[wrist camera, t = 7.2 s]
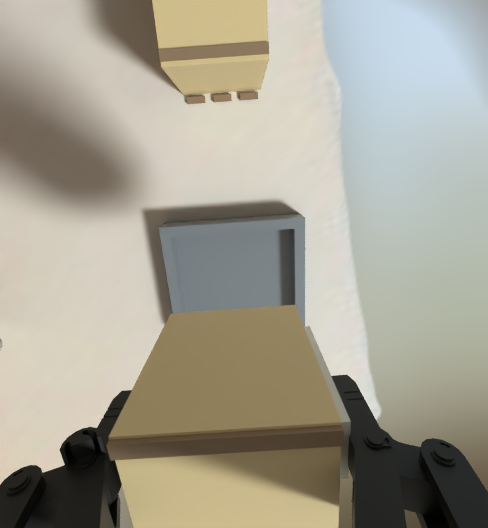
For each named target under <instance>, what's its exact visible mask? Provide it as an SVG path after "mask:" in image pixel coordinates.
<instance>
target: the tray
mask: <svg viewBox="0 0 488 528" xmlns="http://www.w3.org/2000/svg"><path fill="white" fill-rule="evenodd" d="M159 234H160V240H161V246H162V252H163V258H164V264H165V270H166V276H167V282H168V288H169V294H170V300H171V306H172V313H184V312H198V311H212V310H227V309H241V308H255V307H269V306H283V305H296V308H297V310H298V313H299V315H300V318H301V320H302V323H303V325H304V327H305V217H303V216H302V215H301V214H300V213H299V214H285V215H271V216H256V217H242V218H227V219H213V220H199V221H184V222H170V223H164V224H163V225H162V226H160V227H159Z"/></svg>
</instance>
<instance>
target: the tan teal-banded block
mask: <svg viewBox="0 0 488 528" xmlns="http://www.w3.org/2000/svg"><path fill="white" fill-rule="evenodd" d="M152 4H153V11H154V18H155V26H156V33H157V40H158V47H159V50H158V52H159V60H160V62H161V68H162V69H163V70H164V71H165V73H166V74H167V75H168V76H169V78H170V79H171V80H172V81H173V83H174V84H175V85H176V86H177V87H178V89H179V90H180V91H181V92H182V94H183V95H190V94H204V93H217V92H231V91H245V90H258V89H261V86H262V82H263V79H264V75H265V71H266V68H267V64H268V61H269V42H268V20H267V0H152ZM213 98H214V102H222V101H231V94H223V95H213ZM249 99H258V92H250V93H240V100H249ZM187 103H188V104H195V103H205V96H195V97H187Z"/></svg>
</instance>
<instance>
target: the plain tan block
mask: <svg viewBox="0 0 488 528" xmlns="http://www.w3.org/2000/svg"><path fill="white" fill-rule="evenodd" d="M343 440H344V430H343V427H342V422H341V419H340V417H339V414H338V412H337V409H336V406H335V404H334V401H333V399H332V396H331V394H330V391H329V389H328V386H327V384H326V381H325V379H324V376H323V374H322V371H321V368H320V366H319V363H318V361H317V358H316V356H315V353H314V351H313V348H312V346H311V343H310V341H309V338H308V336H307V333H306V331H305V328H304V325H303V323H302V320H301V318H300V315H299V313H298V310H297V308H296V305H283V306H269V307H255V308H241V309H227V310H212V311H198V312H184V313H171V314H170V316H169V318H168V320H167V322H166V324H165V326H164V328H163V330H162V332H161V334H160V336H159V338H158V340H157V342H156V344H155V346H154V348H153V350H152V352H151V354H150V356H149V358H148V360H147V362H146V363H145V365H144V367H143V369H142V371H141V373H140V375H139V377H138V379H137V381H136V383H135V385H134V387H133V389H132V391H131V393H130V395H129V397H128V399H127V401H126V403H125V405H124V407H123V409H122V411H121V413H120V415H119V417H118V419H117V421H116V423H115V425H114V427H113V429H112V431H111V433H110V435H109V441H108V443H107V445H106V446H107V450H108V453H109V457H110V460H111V461H112V460H115V462H116V465H117V469H118V473H119V476H120V480H121V483H122V487H123V490H124V494H125V498H126V501H127V504H128V508H129V512H130V515H131V519H132V523H133V526H134V528H338V519H339V488H340V459H341V446H343Z"/></svg>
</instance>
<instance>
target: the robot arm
mask: <svg viewBox="0 0 488 528" xmlns="http://www.w3.org/2000/svg"><path fill="white" fill-rule="evenodd" d="M304 328H305V331H306V333H307V336H308V338H309V341H310V343H311V346H312V348H313V351H314V353H315V356H316V358H317V361H318V363H319V366H320V368H321V371H322V374H323V376H324V379H325V381H326V384H327V386H328V389H329V391H330V394H331V396H332V399H333V401H334V404H335V406H336V409H337V412H338V414H339V417H340V419H341V422H342V427H343V430H344V440H343V446H341V459H340V478H348V471H349V470H350V473H351V475H352V478H353V488H352V489H353V490H352V528H407V527H406V521H405V513H404V509H405V510H409V511H412V512H416V514H417V517H418V519H419V522H420V524H421V527H422V528H488V492H487V490H486V489H485V487H484V486H483V484H482V483H481V481H480V479H479V478H478V476H477V475H476V473H475V472H474V470H473V469H472V467H471V465H470V464H469V462H468V461H467V460H466V458H465V456H464V455H463V454H462V453H461V452H460V451H459V449H457V448H456V447H454V446H453V445H452V444H450V443H448V442H445V441H443V440H439V439H434V438H433V439H426V440H425V441H424V442H422V445H421V447H417V446H412V445H408V444H404V443H400V442H398V441H396V440H393V439H392V437H391V436H390V435H389V434H388V433H387V432H385V431H384V430H382V429H381V428H380V427H379V425H378V423H377V421H376V420H375V418H374V416H373V414H372V412H371V410H370V408H369V406H368V405H367V403H366V401H365V400H364V397H363V395H362V393H360V390H359V388H358V386H357V384H356V382H355V381H354V380H352V379H351V378H350V377H349V376H348V375H338V376H331V375H330V372H329V370H328V368H327V365H326V363H325V361H324V359H323V356H322V354H321V352H320V349H319V347H318V345H317V342H316V340H315V338H314V336H313V333H312V331H311V329H310V326H309V327H304ZM131 391H132V390H129V391H121V392H120V393H119V394H118V395H117V396H116V397H115V398H114V399H113V400H112V402H111V404H110V406H109V408H108V410H107V411H106V413H105V415H104V418H102V420H101V422H100V424H99V425H98V427H97V428H93V427H88V428H83V429H81V430H79V431H76V432H75V433H73V434H72V435H71V436H69V437H68V438H67V439H66V440H65V441H64V442H63V444H62V446H61V448H60V452H61V455H62V458H63V460H64V463H65V465H64V466H62V467H59V468H56V469H53V470H50V471H47V472H44V473H42V470H41V468H40V467H38V466H37V465H30V466H26V467H23V468H21V469H19V470H17V471H15V472H14V473H12V474H11V475H10V476H9V477H7V478H6V479H5V480H4V481H3V482H2V484H1V485H0V528H120V499H119V495H118V493H119V490H120V488H121V485H122V483H121V480H120V476H119V473H118V469H117V465H116V462H115V460H112V461H111V460H110V457H109V453H108V450H107V446H106V445H107V443H108V441H109V435H110V433H111V431H112V429H113V427H114V425H115V423H116V421H117V419H118V417H119V415H120V413H121V411H122V409H123V407H124V405H125V403H126V401H127V399H128V397H129V395H130V393H131ZM348 469H349V470H348Z"/></svg>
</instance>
